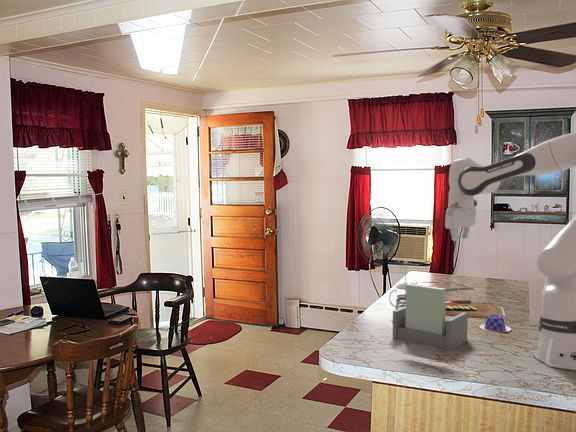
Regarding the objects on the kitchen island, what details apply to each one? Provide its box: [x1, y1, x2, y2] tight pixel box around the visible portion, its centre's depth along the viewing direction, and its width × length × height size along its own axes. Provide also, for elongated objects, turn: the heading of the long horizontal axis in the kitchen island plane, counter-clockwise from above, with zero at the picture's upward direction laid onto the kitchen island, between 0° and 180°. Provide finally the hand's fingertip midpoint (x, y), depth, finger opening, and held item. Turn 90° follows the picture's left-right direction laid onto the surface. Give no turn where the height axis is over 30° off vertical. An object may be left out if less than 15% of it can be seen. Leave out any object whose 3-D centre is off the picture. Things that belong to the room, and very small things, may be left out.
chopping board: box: [400, 299, 506, 319], centre depth 252 cm, size 45×27×3 cm, turn 73°
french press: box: [388, 260, 409, 310], centre depth 234 cm, size 10×12×25 cm
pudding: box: [479, 315, 512, 333], centre depth 219 cm, size 12×12×5 cm
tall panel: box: [406, 283, 447, 336], centre depth 196 cm, size 14×2×20 cm, turn 50°
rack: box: [392, 306, 469, 351], centre depth 200 cm, size 22×15×12 cm
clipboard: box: [409, 280, 474, 291], centre depth 302 cm, size 19×2×30 cm
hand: (460, 239), depth 205 cm, fingers open, 8 cm apart
